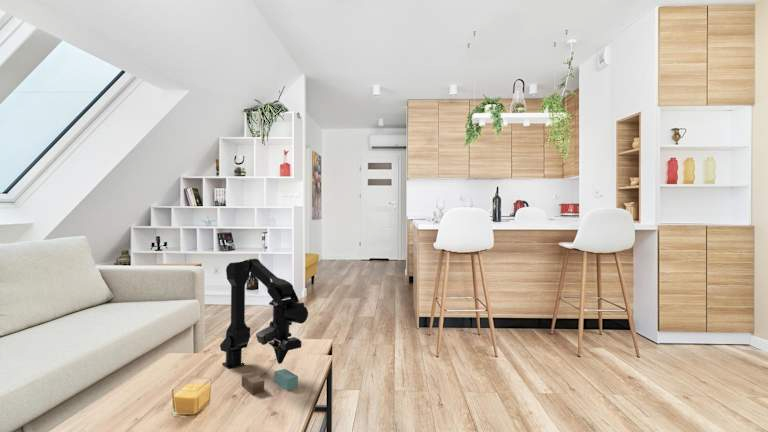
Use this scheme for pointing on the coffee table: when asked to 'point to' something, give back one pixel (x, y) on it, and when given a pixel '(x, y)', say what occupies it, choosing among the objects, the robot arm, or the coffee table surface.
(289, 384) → the teal block
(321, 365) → the coffee table surface
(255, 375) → the walnut block
